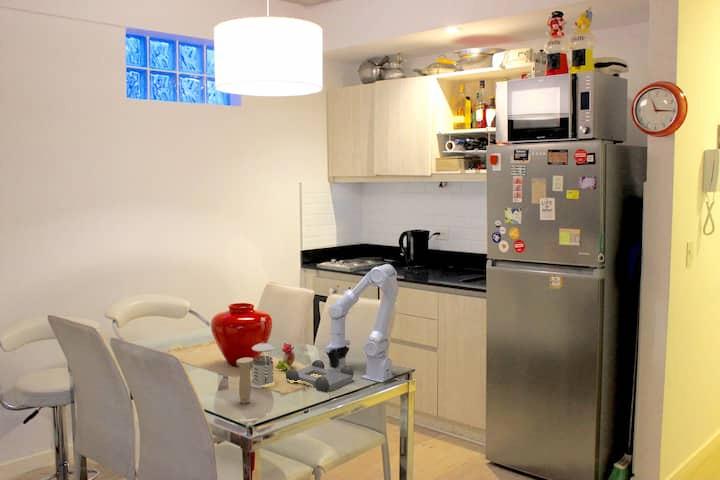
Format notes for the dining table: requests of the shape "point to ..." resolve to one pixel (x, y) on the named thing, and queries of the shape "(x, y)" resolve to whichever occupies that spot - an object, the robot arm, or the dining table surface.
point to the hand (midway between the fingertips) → (337, 366)
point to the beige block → (338, 364)
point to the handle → (245, 379)
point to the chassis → (328, 378)
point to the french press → (262, 365)
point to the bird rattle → (286, 358)
